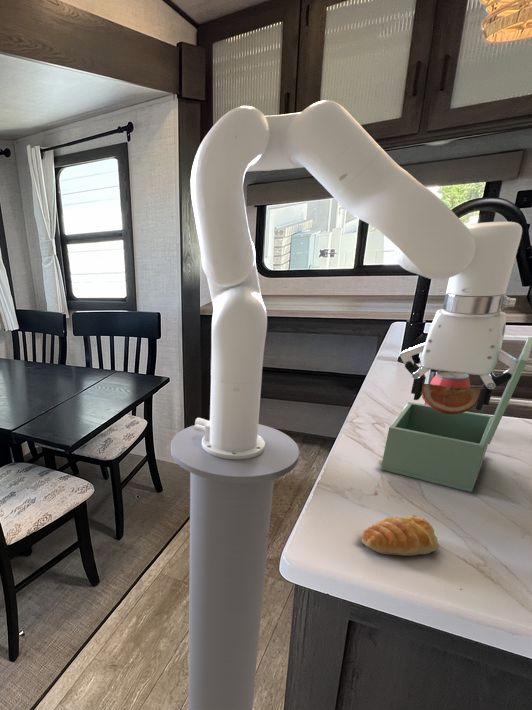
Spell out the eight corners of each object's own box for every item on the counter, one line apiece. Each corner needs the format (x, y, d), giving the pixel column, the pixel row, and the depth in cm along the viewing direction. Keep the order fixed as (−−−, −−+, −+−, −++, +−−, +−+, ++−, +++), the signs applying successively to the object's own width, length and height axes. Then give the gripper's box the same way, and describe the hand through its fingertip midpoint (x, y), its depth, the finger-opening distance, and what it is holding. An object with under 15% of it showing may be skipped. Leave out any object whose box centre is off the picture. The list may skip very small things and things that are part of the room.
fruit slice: (415, 414, 84) (422, 388, 82) (416, 401, 89) (422, 376, 87) (474, 422, 79) (483, 395, 77) (471, 408, 84) (480, 382, 82)
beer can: (420, 429, 101) (432, 377, 96) (421, 418, 106) (433, 367, 101) (459, 435, 97) (473, 380, 93) (458, 423, 102) (471, 371, 97)
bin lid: (520, 359, 69) (574, 368, 65) (528, 336, 78) (575, 343, 75) (483, 443, 76) (530, 455, 72) (494, 413, 85) (536, 423, 81)
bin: (380, 469, 88) (389, 427, 85) (400, 440, 97) (408, 401, 94) (471, 492, 79) (485, 446, 76) (483, 458, 88) (496, 416, 85)
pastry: (380, 564, 66) (385, 542, 64) (349, 535, 72) (352, 514, 71) (441, 553, 67) (447, 531, 65) (405, 526, 73) (409, 505, 71)
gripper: (546, 302, 73) (513, 405, 80) (414, 297, 84) (396, 387, 91) (543, 312, 68) (509, 420, 75) (404, 305, 79) (385, 400, 87)
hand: (447, 402), depth 83 cm, fingers closed on fruit slice, 8 cm apart
